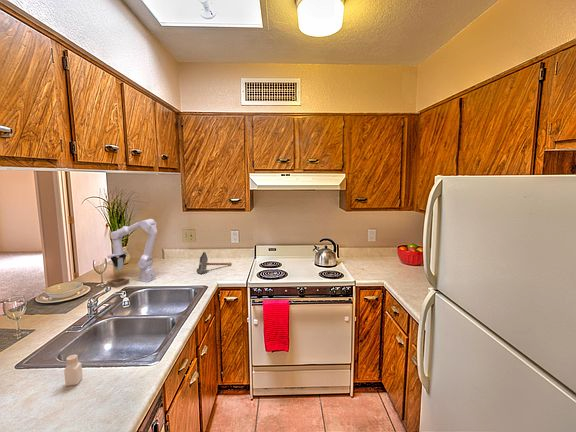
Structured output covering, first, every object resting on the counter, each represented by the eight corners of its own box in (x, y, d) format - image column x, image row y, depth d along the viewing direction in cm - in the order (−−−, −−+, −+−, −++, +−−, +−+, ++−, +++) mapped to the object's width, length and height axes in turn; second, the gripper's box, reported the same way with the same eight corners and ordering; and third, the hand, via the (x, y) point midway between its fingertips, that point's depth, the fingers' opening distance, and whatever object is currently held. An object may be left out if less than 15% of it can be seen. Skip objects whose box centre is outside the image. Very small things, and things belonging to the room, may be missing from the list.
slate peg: (123, 268, 211) (122, 257, 210) (118, 270, 208) (117, 259, 207) (120, 267, 213) (119, 257, 212) (114, 269, 209) (114, 258, 208)
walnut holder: (129, 283, 202) (129, 279, 202) (116, 287, 194) (116, 283, 193) (120, 281, 206) (120, 277, 206) (107, 285, 197) (107, 281, 197)
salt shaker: (64, 386, 100) (62, 361, 99) (71, 379, 104) (68, 354, 103) (77, 385, 101) (75, 359, 100) (83, 377, 105) (81, 353, 104)
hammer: (234, 253, 243) (203, 252, 220) (231, 272, 243) (200, 273, 220) (229, 252, 247) (199, 251, 224) (227, 271, 246) (196, 272, 223)
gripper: (123, 244, 217) (124, 262, 218) (104, 248, 204) (105, 267, 205) (129, 245, 214) (131, 263, 215) (110, 249, 201) (112, 268, 202)
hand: (119, 265), depth 210 cm, fingers closed on slate peg, 4 cm apart
